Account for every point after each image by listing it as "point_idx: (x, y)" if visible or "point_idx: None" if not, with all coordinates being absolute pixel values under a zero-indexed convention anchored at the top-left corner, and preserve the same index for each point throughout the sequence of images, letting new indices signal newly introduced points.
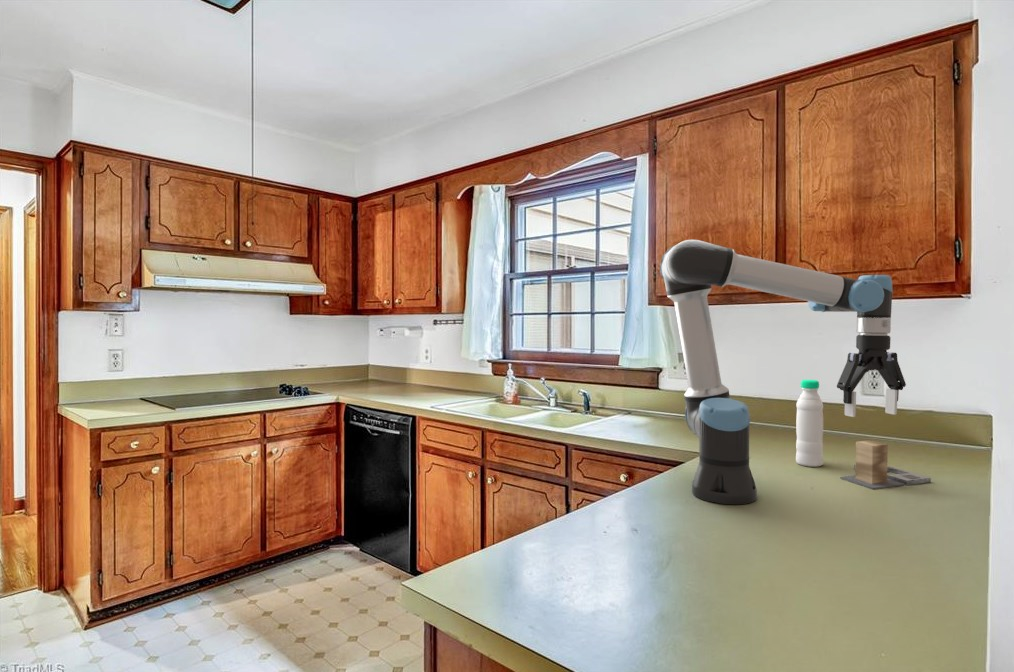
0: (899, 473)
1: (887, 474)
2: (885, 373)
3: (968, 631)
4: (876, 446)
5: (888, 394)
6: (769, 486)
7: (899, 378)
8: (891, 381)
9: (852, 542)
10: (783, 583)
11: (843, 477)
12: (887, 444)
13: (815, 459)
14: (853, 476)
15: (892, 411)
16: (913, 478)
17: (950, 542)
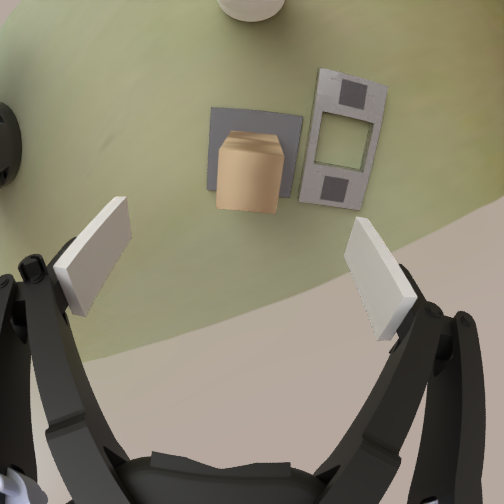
0: (366, 146)
1: (309, 155)
2: (348, 435)
3: None
4: (231, 208)
5: (384, 287)
6: (53, 117)
7: (427, 390)
8: (378, 380)
9: None
10: None
11: (214, 113)
12: (275, 213)
13: (237, 16)
14: (243, 116)
15: (349, 255)
16: (325, 199)
17: (137, 331)
